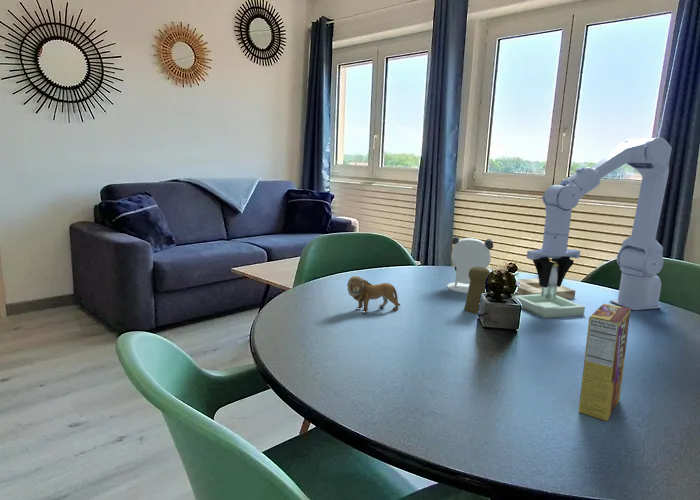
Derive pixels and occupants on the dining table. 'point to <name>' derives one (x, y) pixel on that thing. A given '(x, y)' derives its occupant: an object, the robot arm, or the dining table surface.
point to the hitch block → (534, 288)
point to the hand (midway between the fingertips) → (549, 286)
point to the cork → (475, 288)
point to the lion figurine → (371, 292)
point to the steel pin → (551, 283)
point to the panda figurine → (468, 260)
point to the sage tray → (550, 306)
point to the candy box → (604, 361)
